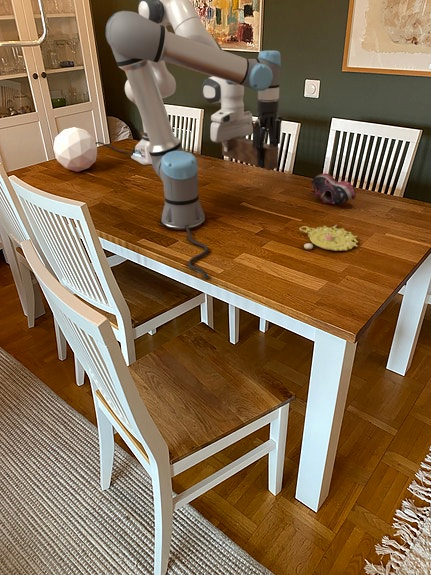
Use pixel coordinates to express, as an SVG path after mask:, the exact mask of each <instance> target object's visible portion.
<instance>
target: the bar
mask: <svg viewBox="0 0 431 575" xmlns="http://www.w3.org/2000/svg"><path fill="white" fill-rule="evenodd" d="M226 144H227V146H229V151H227V152H226V151H224V146H223V144H222V143H221V151H222V152H221V153H222V154H221V155H222V156H223V157H226V158H230V159H232V160H235V161H239V162H242V163H245V164H248V165H251V166H254V167H257V168H261V169H264V170H267V171H272V170H275V169H278V168H279V148H280V146H278V147H277V146H273V145H270V143H265V142H264V146H263V150H265V151H264V167H263V168H262V167H259V166H258V158H257V149H254V148H253V139H251V138H250V139H249V138H247V137H244V138H243V137H235V138H231V140H227V143H226Z"/></svg>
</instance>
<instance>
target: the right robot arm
mask: <svg viewBox="0 0 431 575" xmlns="http://www.w3.org/2000/svg"><path fill="white" fill-rule="evenodd" d="M105 39H106V42H107V44H108V45H109V47H110V48H111V51H112V54H113V56H114V59H115V62H116V65H117V67H118V68H119V69H120V70H122V71H124V72H125V76H126V78H127V80H128V81H129V84H130V87H131V90H132V92H133V95H134V98H135V101H136V104H137V106H138V107H137V106H136V107H137V110H138V111H139V115H140V118H141V121H143V122H142V124H143V123H144V126H145V129H146V132H147V135H148V138H149V140H150V143H151V144H150V146H149V149H148V151H149V153H150V156H151V159H152V164H151V166H152V169H153V171H154V172H155V174H156V175H157V176H158V177H159V179H160V180H161V182H162V184H163V194H164V204H163V209H162V213H161V219H160V220H161V225H162V227H163V228H165V229H167V230H170V231H175V232H176V231H177V232H185V231H186V233H187V237H188V240H189V242H190V243H191V244H193V245H195V246H197V247H201V248H203V249H204V251H203V252H201V253H199V254H197V255H195V256H193V257H191V258H190V259H189V260H188V263H187V266H188V267H189V268H190V269H192V270H195V271H197V272H200V273H201V274H202V275H203V277H204V280H206V281H208V280H209V276H208V274H207V272H206V271H205V270H204V269H203V268H201V267H199V266H195V265H194V264H193V265H192V263H193V262H195V261H196V260H198V259H200V258H202V257H204V256H206V255H207V254H208V253H209V247H208V246H207V245H206V244H203V243H202V242H198V241H196V240H194V239H193V237H192V234H191V231H192V230H195V229H198V228H201V227H202V226H203V225H204V224H205V223H206V216H205V212H204V210H203V208H202V204H201V202H200V196H199V175H198V170H199V166H198V162H197V158H196V156H195V155H194V154H192V152H189V151H185V150H184V149H183V148H184V147H183V146H182V143H181V139H180V137H179V138H178V137H177V136H175V134H174V131H173V128H172V124H171V122H170V119H169V116H168V112H167V109H166V106H165V104H164V100H163V99H164V98H162V96H161V93H160V90H159V87H158V84H157V81H156V78H155V74H154V71H153V68H152V65H151V61H153V62H156V63H159V62H160V61H165V63H169V64H172V65H175V66H178V67H182V68H185V69H188V70H190V71H191V70H192V71H194V72H199V73H201V74H204V75H207V76H210V77H212V76H214V77H217V78H220V79H223V80H225V81H226V83H227V84H229V85H237V84H239V85H242V86H244V88H245V87H246V88H249V89H252V90H254V91H257V104H256V106H257V108H256V109H257V113H258V116H257V119H256V120H253V121H252V126H253V134H252V140H253V148H254V149H257V158H258V166H259V167H258V168H260V167H262V168H261V169H263V167H264V151H265V150H263V146H264V143H265V140H266V135H267V134H268V141H269V145H273V146H277V147H279V145H280V143H281V135H282V134H281V133H282V132H281V131H282V123H283V122H282V121H283V116H282V115H278V112H279V107H280V106H279V105H280V101H279V99H280V79H281V67H282V65H281V62H282V60H281V52H280V51H278V50H261V51H259V53H258V56H257V57H255V58H246V57H243V56H240V55H237V54H234V53H231V52H229V51H225V50H223V49H222V50H220V49H217V48H214V47H211V46H208V45H205V44H202V43H200V42H197V41H194V40H191V39H188V38H185V37H182V36H179V35H176V34H175V33H173V32H171V31H168V29H167V26H166V27H165V26H162V25H160V24H157V23H155V22H153V21H151V20H149V19H147V18H145V17H143V16H141V15H140V14H138V12H135V11H129V10H121V11H117V12H115V13H113V14H112V15H111V16H110V17H109V19H108V20H107V23H106V26H105ZM136 104H135V105H136Z"/></svg>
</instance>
